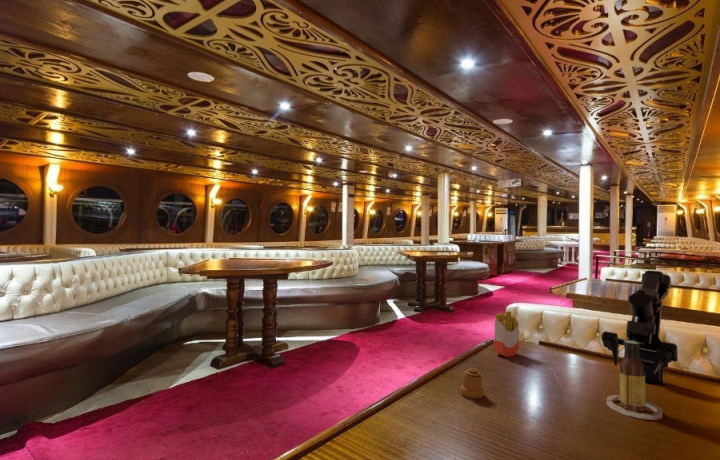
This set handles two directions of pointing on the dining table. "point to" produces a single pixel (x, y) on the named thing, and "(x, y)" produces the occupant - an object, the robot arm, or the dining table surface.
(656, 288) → the robot arm
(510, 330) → the french fries container
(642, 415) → the white faceted ring
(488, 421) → the dining table surface
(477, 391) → the ornamental finial
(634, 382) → the sauce bottle
